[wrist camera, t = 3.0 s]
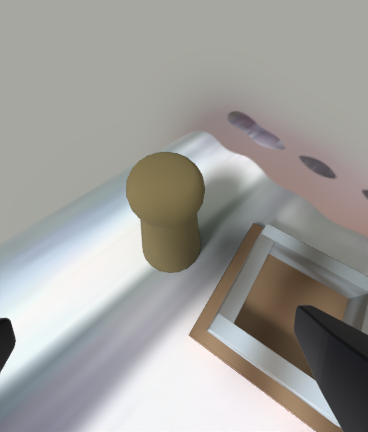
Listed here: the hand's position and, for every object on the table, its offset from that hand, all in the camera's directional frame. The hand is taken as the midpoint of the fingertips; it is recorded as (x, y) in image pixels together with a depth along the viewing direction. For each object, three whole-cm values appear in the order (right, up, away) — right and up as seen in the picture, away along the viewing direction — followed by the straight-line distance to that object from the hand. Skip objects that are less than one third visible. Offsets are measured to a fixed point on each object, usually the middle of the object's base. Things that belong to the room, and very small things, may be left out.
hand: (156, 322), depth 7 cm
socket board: (+10, -5, +12) cm, 17 cm away
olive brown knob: (0, 0, +16) cm, 16 cm away
